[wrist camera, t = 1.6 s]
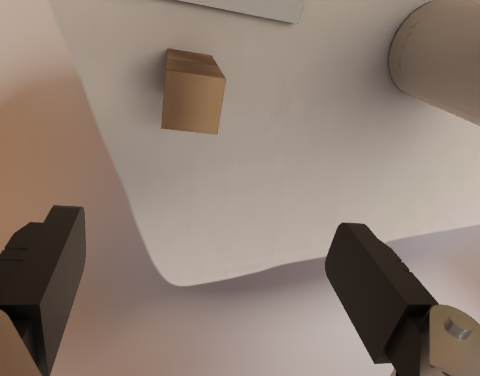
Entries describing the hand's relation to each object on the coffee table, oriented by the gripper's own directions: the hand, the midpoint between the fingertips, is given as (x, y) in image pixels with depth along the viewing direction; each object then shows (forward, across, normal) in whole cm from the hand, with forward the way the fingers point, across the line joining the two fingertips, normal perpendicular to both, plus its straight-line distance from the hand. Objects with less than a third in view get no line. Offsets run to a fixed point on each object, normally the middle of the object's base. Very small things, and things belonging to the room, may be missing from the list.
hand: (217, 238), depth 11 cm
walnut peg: (+25, 0, 0) cm, 25 cm away
